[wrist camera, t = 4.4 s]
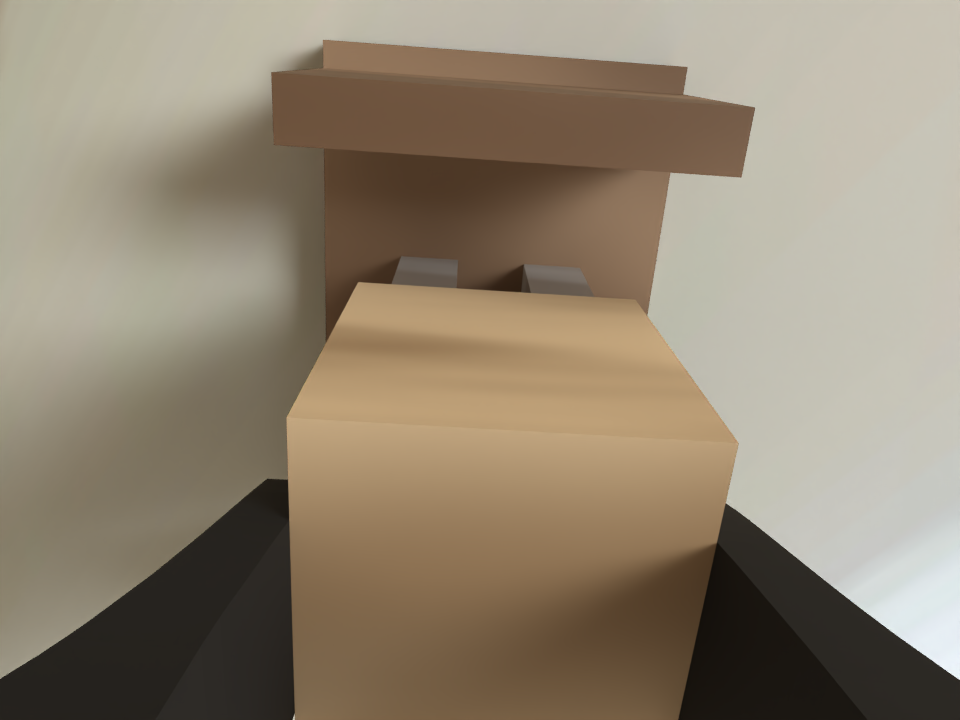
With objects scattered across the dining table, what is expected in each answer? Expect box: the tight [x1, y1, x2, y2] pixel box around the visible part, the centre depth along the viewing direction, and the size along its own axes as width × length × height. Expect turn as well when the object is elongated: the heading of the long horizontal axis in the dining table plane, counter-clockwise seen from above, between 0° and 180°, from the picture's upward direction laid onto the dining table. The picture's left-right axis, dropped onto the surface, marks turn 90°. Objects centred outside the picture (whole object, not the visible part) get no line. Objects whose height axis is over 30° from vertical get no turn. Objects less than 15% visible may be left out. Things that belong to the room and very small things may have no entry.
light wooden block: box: [286, 282, 739, 720], centre depth 11 cm, size 4×4×5 cm
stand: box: [271, 40, 755, 342], centre depth 15 cm, size 12×7×5 cm, turn 176°
